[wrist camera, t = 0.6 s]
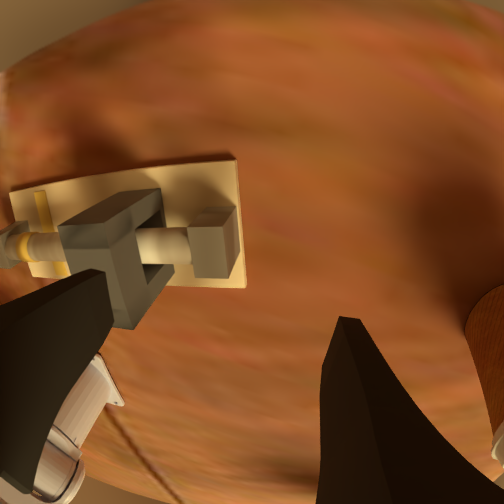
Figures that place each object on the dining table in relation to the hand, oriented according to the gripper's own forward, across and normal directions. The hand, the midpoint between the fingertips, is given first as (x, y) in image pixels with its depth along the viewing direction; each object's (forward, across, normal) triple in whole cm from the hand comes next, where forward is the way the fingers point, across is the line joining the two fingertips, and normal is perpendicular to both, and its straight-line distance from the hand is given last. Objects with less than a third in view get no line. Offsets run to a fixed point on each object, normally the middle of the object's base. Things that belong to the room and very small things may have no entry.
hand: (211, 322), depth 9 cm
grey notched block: (+10, +7, +2) cm, 13 cm away
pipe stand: (+10, +11, +3) cm, 15 cm away
